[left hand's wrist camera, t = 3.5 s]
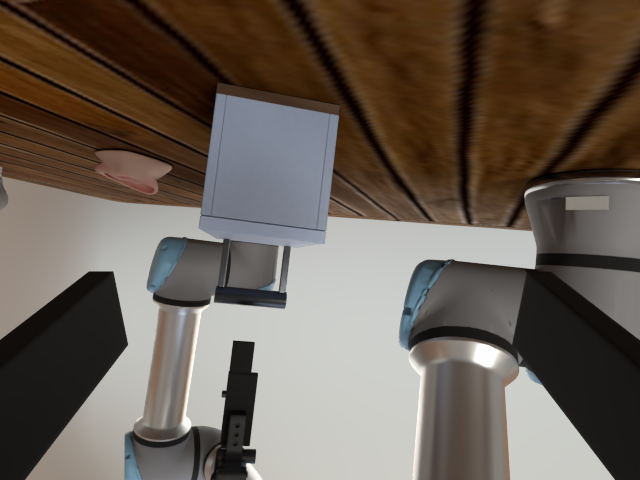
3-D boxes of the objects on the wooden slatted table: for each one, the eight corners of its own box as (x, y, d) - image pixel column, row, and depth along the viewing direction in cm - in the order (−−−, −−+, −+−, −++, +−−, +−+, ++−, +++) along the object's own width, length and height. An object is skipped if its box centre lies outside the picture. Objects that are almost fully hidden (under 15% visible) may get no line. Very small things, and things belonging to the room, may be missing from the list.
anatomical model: (99, 173, 52) (184, 191, 60) (104, 144, 53) (187, 165, 60) (81, 182, 63) (155, 196, 70) (85, 158, 63) (158, 174, 70)
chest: (307, 158, 49) (297, 239, 48) (227, 145, 47) (217, 229, 46) (340, 105, 32) (326, 230, 31) (217, 82, 30) (200, 214, 29)
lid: (297, 239, 48) (289, 306, 48) (217, 230, 47) (208, 298, 46) (325, 231, 31) (314, 335, 30) (200, 215, 29) (185, 325, 29)
